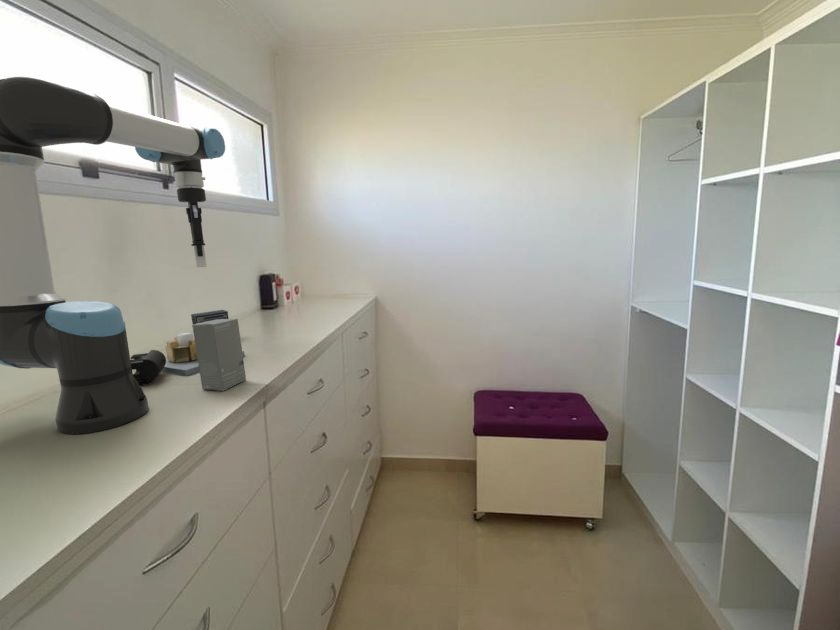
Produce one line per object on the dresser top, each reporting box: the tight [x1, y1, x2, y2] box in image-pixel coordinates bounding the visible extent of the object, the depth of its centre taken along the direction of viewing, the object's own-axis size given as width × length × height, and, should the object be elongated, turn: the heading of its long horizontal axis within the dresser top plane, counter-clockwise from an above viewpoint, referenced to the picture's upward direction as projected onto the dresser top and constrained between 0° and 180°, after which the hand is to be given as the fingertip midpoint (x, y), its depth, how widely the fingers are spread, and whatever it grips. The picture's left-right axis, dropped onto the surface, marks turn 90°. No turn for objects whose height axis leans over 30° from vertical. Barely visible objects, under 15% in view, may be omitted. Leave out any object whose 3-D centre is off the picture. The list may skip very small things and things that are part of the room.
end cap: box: [130, 349, 166, 387], centre depth 112 cm, size 10×7×7 cm
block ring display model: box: [160, 332, 245, 377], centre depth 126 cm, size 19×18×8 cm
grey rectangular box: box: [191, 318, 247, 392], centre depth 104 cm, size 8×7×16 cm
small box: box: [190, 309, 230, 325], centre depth 150 cm, size 11×6×10 cm, turn 130°
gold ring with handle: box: [165, 336, 198, 362], centre depth 126 cm, size 16×10×5 cm, turn 100°
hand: (201, 267), depth 136 cm, fingers closed
